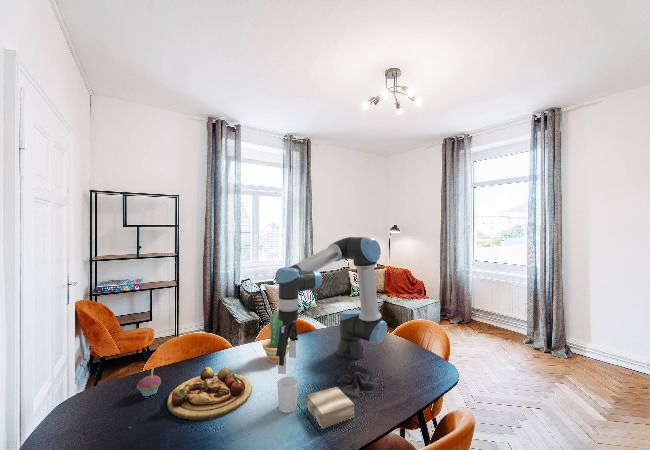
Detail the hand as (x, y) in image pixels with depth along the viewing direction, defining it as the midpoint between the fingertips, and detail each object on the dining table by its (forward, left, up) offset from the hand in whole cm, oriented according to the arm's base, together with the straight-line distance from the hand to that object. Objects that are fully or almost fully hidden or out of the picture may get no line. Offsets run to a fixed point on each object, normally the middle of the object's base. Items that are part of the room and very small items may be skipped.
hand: (287, 364), depth 110 cm
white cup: (0, 0, -17) cm, 17 cm away
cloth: (-1, +34, -17) cm, 38 cm away
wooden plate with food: (-22, -25, -17) cm, 37 cm away
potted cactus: (-42, +9, -17) cm, 46 cm away
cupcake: (-34, -48, -17) cm, 61 cm away
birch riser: (+10, +13, -16) cm, 23 cm away
